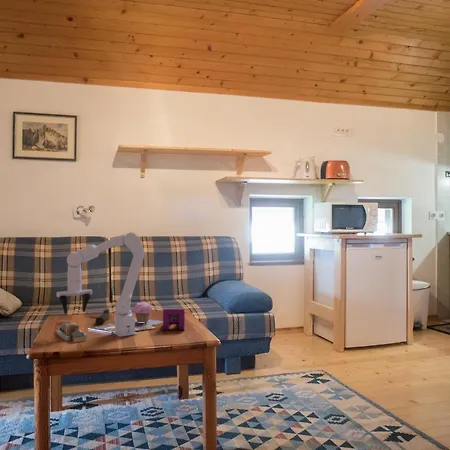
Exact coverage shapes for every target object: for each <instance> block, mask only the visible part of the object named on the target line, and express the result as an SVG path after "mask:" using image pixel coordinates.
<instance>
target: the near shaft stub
mask: <svg viewBox="0 0 450 450" xmlns="http://www.w3.org/2000/svg"><path fill="white" fill-rule="evenodd" d="M81 331H82V330H80V329H79V330H78V329H74V330H73V331H72V332H71V337H72V338H71V339H72V343H73V344H74V343H80V342H81V343H83V342H87V338H86V336H85V335H84V333H85V332H84V333H83V331H82V332H81Z"/></svg>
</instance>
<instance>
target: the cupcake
mask: <svg viewBox="0 0 450 450" xmlns="http://www.w3.org/2000/svg"><path fill="white" fill-rule="evenodd" d="M152 310H153V309H152V305H151V303H150V302H149V303H148V302H143V301H140V302H137V303H136V304H135V306H134V307H133V312H134V314H135V318H136V322H147V323H148V322H149V316H150V313H152Z"/></svg>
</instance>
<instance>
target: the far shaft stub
mask: <svg viewBox="0 0 450 450" xmlns="http://www.w3.org/2000/svg"><path fill="white" fill-rule="evenodd" d="M64 323H67V321H64V322H62V323H61V324H60V326H57V328H58V329H57V331H59V330H60V331H62V332H63V333H64Z"/></svg>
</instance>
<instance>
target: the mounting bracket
mask: <svg viewBox="0 0 450 450" xmlns="http://www.w3.org/2000/svg"><path fill="white" fill-rule="evenodd" d="M162 312H163V313H162V331H163V332H165V331H170V324H178V331H185V324H186V323H185V321H186V315H185V309H182V308H181V309H179V308H178V309H174V308H172V309H163V311H162Z"/></svg>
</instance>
